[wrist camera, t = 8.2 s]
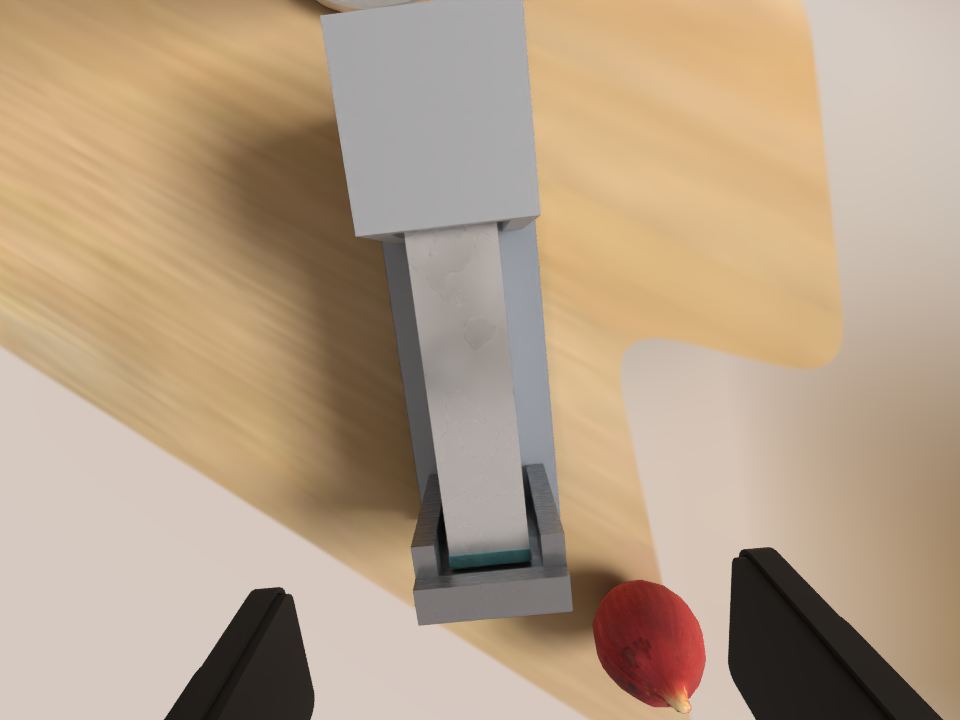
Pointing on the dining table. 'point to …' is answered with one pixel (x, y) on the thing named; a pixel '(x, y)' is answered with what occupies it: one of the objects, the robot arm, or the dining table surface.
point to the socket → (492, 585)
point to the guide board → (446, 174)
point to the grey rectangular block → (470, 391)
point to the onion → (650, 644)
